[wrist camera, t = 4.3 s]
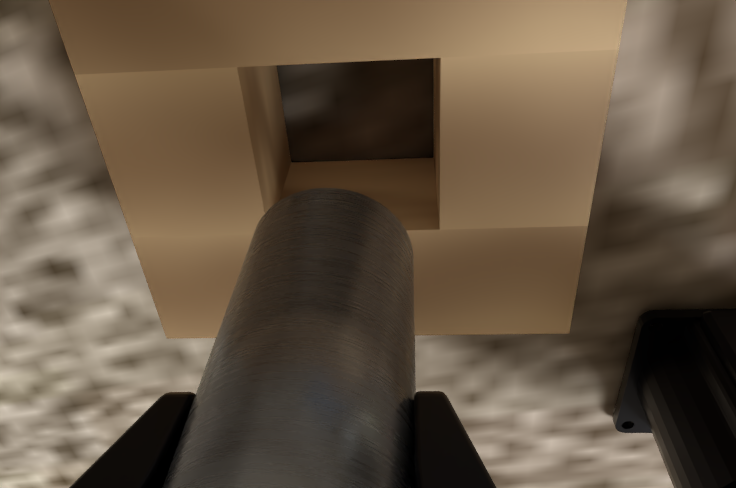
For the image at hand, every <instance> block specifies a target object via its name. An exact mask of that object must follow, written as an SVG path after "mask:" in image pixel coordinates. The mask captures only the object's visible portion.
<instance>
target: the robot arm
mask: <svg viewBox="0 0 736 488" xmlns="http://www.w3.org/2000/svg"><path fill="white" fill-rule="evenodd" d="M653 323H656V324H655V325H651V324H653ZM195 396H196V395H195V394H194V393H191V392H169V393H166V394H164V395H163V396H161V397H160V398H159V399H158V400H157V401H156V402H155V403H154V404H153V405H152V406H151V407H150V408H149V409H148V410H147V411H146V412H145V413H144V414H143V415H142V416H141V417H140V418H139V419H138V420H137V421H136V422H135V423H134V424H133V425H132V426H131V427H130V428H129V429H128V430H127V431H126V432H125V433H124V434H123V435H122V436H121V437H120V438H119V439H118V440H117V441H116V442H115V443H114V444H113V445H112V446H111V447H110V448H109V449H108V450H107V451H106V452H105V453H104V454H103V455H102V456H101V457H100V458H99V459H98V460H97V461H96V462H95V463H94V464H93V465H92V466H91V467H90V468H89V469H88V470H87V471H86V472H85V473H84V474H83V475H82V476H81V477H80V478H79V479H78V480H77V481H76V482H75V483H74V484H73V485H72V486H71V487H70V488H162V487H163V485H164V482H165V479H166V476H167V473H168V471H169V468H170V465H171V462H172V460H173V457H174V454H175V451H176V448H177V446H178V443H179V440H180V437H181V435H182V432H183V429H184V426H185V423H186V421H187V418H188V415H189V412H190V409H191V407H192V404H193V401H194V398H195ZM613 422H614V424H615V427H616V429H617V430H618V431H620V432H624V433H653V436H654V438H655V441H656V443H657V446H658V448H659V451H660V453H661V456H662V458H663V461H664V463H665V466H666V468H667V471H668V473H669V476H670V479H671V481H672V484H673V486H674V488H736V309H696V310H652V311H648V312H646V313H644V314H643V315H641V316H640V318H639V320H638V322H637V326H636V330H635V334H634V338H633V342H632V346H631V349H630V353H629V357H628V361H627V365H626V369H625V373H624V376H623V380H622V384H621V388H620V392H619V396H618V400H617V403H616V407H615V411H614V415H613ZM414 465H415V488H496V486H495V484H494V483H493V481H492V479H491V477H490V475H489V473H488V472H487V470H486V468H485V466H484V464H483V462H482V460H481V459H480V457H479V455H478V453H477V451H476V449H475V447H474V446H473V444H472V442H471V440H470V438H469V436H468V434H467V433H466V431H465V429H464V427H463V425H462V423H461V421H460V420H459V418H458V416H457V414H456V412H455V410H454V409H453V407H452V405H451V403H450V401H449V399H448V398H447V396H446V395H445V394H444V393H443V392H440V391H419V392H417V393H415V395H414Z"/></svg>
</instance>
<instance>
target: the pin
mask: <svg viewBox="0 0 736 488" xmlns="http://www.w3.org/2000/svg"><path fill="white" fill-rule="evenodd" d="M415 393H416V386H415V323H414V260H413V248H412V244H411V240H410V238H409V235H408V233H407V231H406V229H405V228H404V226H403V225H402V223H401V222H400V221H399V219H398V218H397V217H396V216H395V215H394V214H393V213H392V212H391V211H390V210H389V209H388V208H386V207H385V206H383V205H382V204H381V203H379V202H378V201H376V200H374V199H372V198H370V197H368V196H365V195H363V194H360V193H357V192H354V191H350V190H345V189H338V188H315V189H309V190H304V191H300V192H297V193H294V194H292V195H290V196H287V197H285V198H283V199H282V200H280V201H279V202H277V203H276V204H274V205H273V206H272V207H271V208H270V209H269V210H268V211H267V212H266V213H265V214H264V215H263V217H262V218H261V219H260V221H259V223H258V225H257V226H256V229H255V232H254V234H253V237H252V240H251V243H250V246H249V248H248V251H247V254H246V257H245V259H244V262H243V265H242V268H241V271H240V273H239V276H238V279H237V282H236V284H235V287H234V290H233V293H232V296H231V298H230V301H229V304H228V307H227V309H226V312H225V315H224V318H223V321H222V323H221V326H220V329H219V332H218V334H217V337H216V340H215V343H214V346H213V348H212V351H211V354H210V357H209V359H208V362H207V365H206V368H205V371H204V373H203V376H202V379H201V382H200V384H199V387H198V390H197V393H196V396H195V398H194V401H193V404H192V407H191V409H190V412H189V415H188V418H187V421H186V423H185V426H184V429H183V432H182V435H181V437H180V440H179V443H178V446H177V448H176V451H175V454H174V457H173V460H172V462H171V465H170V468H169V471H168V473H167V476H166V479H165V482H164V485H163V487H162V488H415V465H414V395H415Z"/></svg>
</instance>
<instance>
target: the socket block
mask: <svg viewBox="0 0 736 488" xmlns="http://www.w3.org/2000/svg"><path fill="white" fill-rule="evenodd" d="M49 3H50V6H51V9H52V12H53V14H54V17H55V20H56V23H57V26H58V29H59V32H60V34H61V37H62V40H63V43H64V46H65V49H66V52H67V54H68V57H69V60H70V63H71V66H72V69H73V72H74V74H75V77H76V80H77V83H78V86H79V89H80V92H81V94H82V97H83V100H84V103H85V106H86V109H87V112H88V114H89V117H90V120H91V123H92V126H93V129H94V132H95V134H96V137H97V140H98V143H99V146H100V149H101V152H102V154H103V157H104V160H105V163H106V166H107V169H108V172H109V174H110V177H111V180H112V183H113V186H114V189H115V192H116V195H117V197H118V200H119V203H120V206H121V209H122V212H123V215H124V217H125V220H126V223H127V226H128V229H129V232H130V235H131V237H132V240H133V243H134V246H135V249H136V252H137V255H138V257H139V260H140V263H141V266H142V269H143V272H144V275H145V277H146V280H147V283H148V286H149V289H150V292H151V295H152V297H153V300H154V303H155V306H156V309H157V312H158V315H159V317H160V320H161V323H162V326H163V329H164V332H165V335H166V337H167V338H216V337H217V334H218V332H219V329H220V326H221V323H222V321H223V318H224V315H225V312H226V309H227V307H228V304H229V301H230V298H231V296H232V293H233V290H234V287H235V284H236V282H237V279H238V276H239V273H240V271H241V268H242V265H243V262H244V259H245V257H246V254H247V251H248V248H249V246H250V243H251V240H252V237H253V234H254V232H255V229H256V226H257V225H258V223H259V221H260V219H261V218H262V217H263V215H264V214H265V213H266V212H267V211H268V210H269V209H270V208H271V207H272V206H273V205H274V204H276V203H277V202H279V201H280V200H282V199H283V198H285V197H287V196H290V195H292V194H294V193H297V192H300V191H304V190H309V189H315V188H338V189H345V190H350V191H354V192H357V193H360V194H363V195H365V196H368V197H370V198H372V199H374V200H376V201H378V202H379V203H381V204H382V205H383V206H385V207H386V208H388V209H389V210H390V211H391V212H392V213H393V214H394V215H395V216H396V217H397V218H398V219H399V221H400V222H401V223H402V225H403V226H404V228H405V229H406V231H407V233H408V235H409V238H410V240H411V244H412V248H413V260H414V323H415V335H481V334H562V333H569V332H570V326H571V320H572V315H573V309H574V303H575V297H576V292H577V286H578V280H579V274H580V269H581V263H582V257H583V252H584V246H585V240H586V234H587V229H588V223H589V217H590V211H591V206H592V200H593V194H594V188H595V183H596V177H597V171H598V166H599V160H600V154H601V148H602V143H603V137H604V131H605V125H606V120H607V114H608V108H609V102H610V97H611V91H612V85H613V80H614V74H615V68H616V62H617V57H618V51H619V45H620V39H621V34H622V28H623V22H624V16H625V11H626V5H627V0H49ZM424 58H433V62H434V158H411V159H381V160H352V161H323V162H294V163H291V157H290V151H289V144H288V138H287V131H286V124H285V118H284V111H283V105H282V98H281V92H280V85H279V78H278V72H277V65H295V64H316V63H338V62H359V61H381V60H402V59H424Z"/></svg>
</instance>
